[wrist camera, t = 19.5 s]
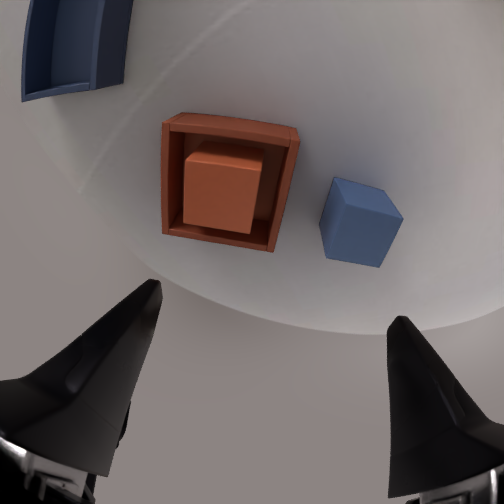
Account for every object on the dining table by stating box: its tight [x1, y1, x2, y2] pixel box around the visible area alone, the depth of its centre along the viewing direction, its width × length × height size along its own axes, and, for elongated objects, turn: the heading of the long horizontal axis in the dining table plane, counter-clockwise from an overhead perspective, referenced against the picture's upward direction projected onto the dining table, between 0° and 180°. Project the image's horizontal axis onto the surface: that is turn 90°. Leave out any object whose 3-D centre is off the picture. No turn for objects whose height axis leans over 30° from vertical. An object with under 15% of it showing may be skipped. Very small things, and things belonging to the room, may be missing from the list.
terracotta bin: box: [161, 112, 300, 253], centre depth 17 cm, size 8×8×3 cm
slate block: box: [319, 177, 403, 268], centre depth 17 cm, size 4×4×4 cm
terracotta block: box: [183, 141, 265, 234], centre depth 16 cm, size 4×4×4 cm
